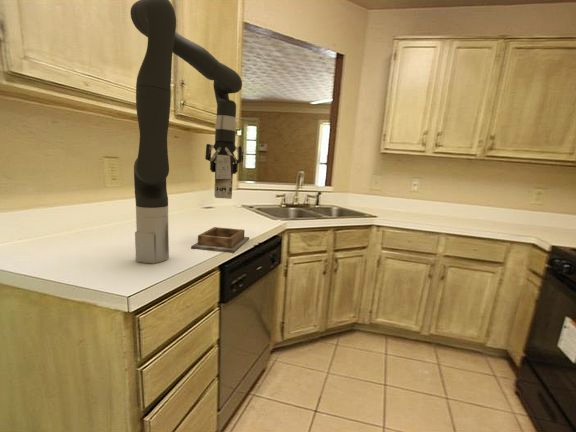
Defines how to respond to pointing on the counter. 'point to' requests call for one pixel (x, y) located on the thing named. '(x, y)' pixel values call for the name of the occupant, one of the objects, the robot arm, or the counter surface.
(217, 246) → the socket
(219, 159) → the coffee box
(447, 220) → the counter surface
